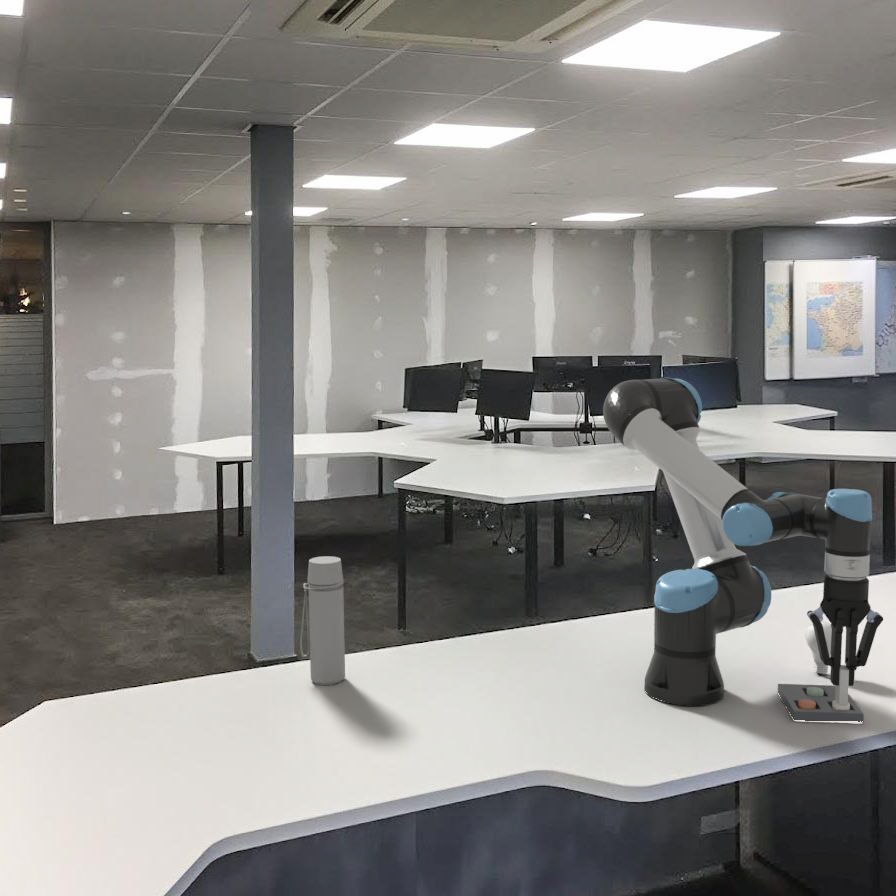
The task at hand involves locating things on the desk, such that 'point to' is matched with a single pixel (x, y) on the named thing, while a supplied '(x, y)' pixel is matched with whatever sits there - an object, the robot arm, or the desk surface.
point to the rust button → (806, 704)
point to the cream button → (840, 706)
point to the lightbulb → (812, 643)
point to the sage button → (815, 691)
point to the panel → (817, 704)
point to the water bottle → (325, 620)
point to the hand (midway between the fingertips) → (841, 701)
